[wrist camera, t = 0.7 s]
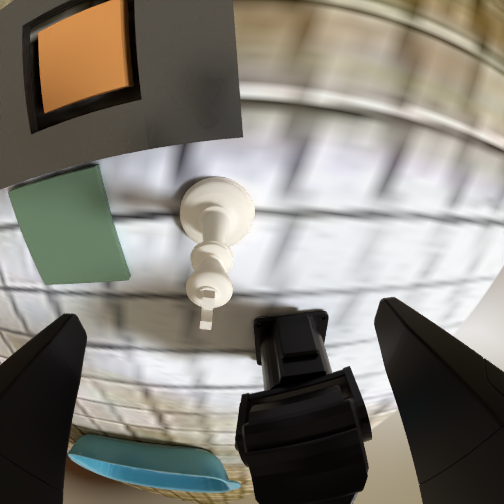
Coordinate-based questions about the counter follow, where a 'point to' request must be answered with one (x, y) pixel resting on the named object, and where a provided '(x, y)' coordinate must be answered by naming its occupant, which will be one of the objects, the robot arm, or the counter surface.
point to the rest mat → (70, 228)
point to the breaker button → (85, 55)
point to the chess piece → (214, 239)
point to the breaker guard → (133, 113)
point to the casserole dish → (152, 464)
